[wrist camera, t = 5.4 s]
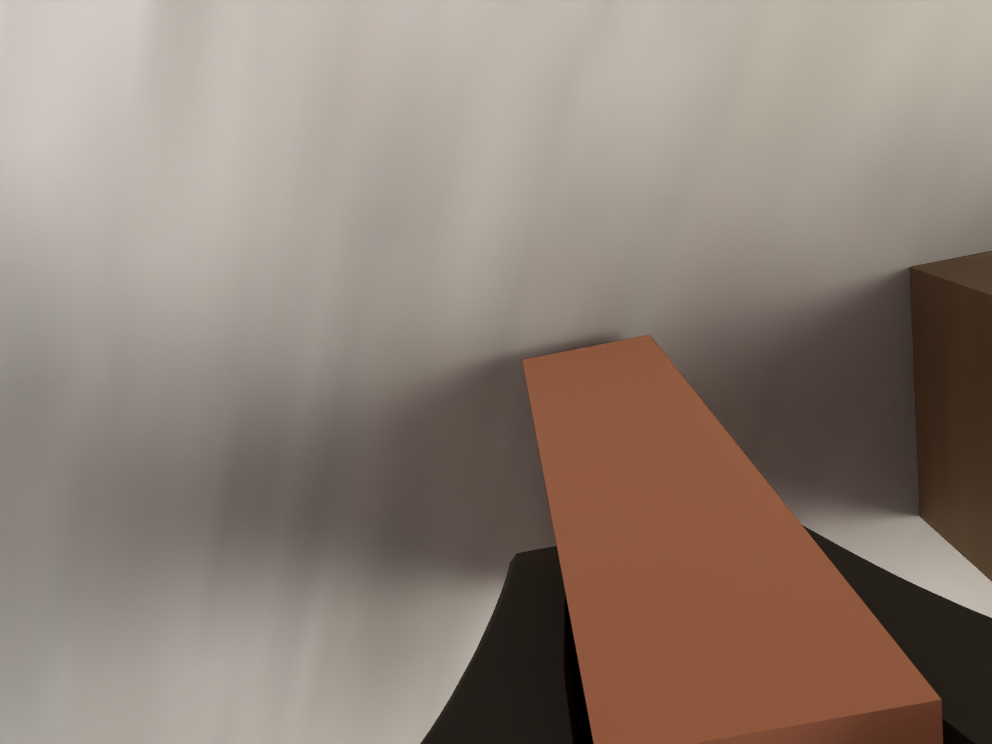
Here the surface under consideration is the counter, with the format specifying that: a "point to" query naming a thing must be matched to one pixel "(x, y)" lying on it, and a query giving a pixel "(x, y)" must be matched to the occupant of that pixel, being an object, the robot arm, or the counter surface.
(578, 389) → the domino
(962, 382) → the domino
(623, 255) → the counter surface
